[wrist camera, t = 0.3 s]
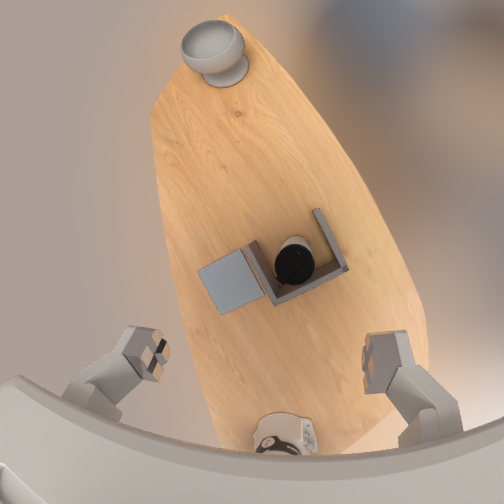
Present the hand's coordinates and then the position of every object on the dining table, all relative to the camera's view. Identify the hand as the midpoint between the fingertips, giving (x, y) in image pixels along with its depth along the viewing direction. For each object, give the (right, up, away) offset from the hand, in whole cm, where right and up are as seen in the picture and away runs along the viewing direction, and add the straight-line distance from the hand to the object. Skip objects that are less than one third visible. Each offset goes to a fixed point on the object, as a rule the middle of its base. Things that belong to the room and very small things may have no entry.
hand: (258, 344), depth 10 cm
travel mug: (+9, +4, +51) cm, 52 cm away
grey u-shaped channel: (+9, +4, +51) cm, 52 cm away
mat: (-5, -4, +54) cm, 55 cm away
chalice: (-7, +50, +48) cm, 69 cm away
